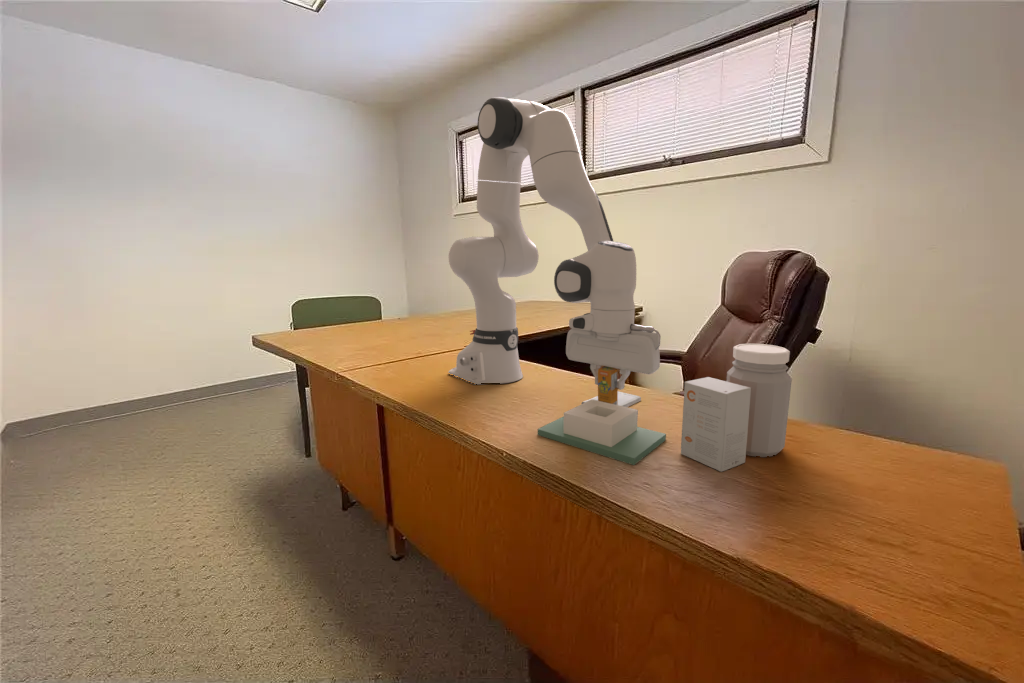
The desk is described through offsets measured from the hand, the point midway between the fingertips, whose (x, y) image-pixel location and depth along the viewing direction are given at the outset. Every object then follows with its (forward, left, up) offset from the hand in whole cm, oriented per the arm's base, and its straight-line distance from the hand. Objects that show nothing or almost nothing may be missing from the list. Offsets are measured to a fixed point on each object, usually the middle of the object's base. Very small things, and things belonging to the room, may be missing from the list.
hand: (609, 386), depth 95 cm
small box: (+23, -7, -7) cm, 25 cm away
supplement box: (0, 0, -6) cm, 6 cm away
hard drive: (-3, +8, -7) cm, 11 cm away
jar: (+27, +2, -7) cm, 28 cm away
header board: (+4, -11, -7) cm, 14 cm away
